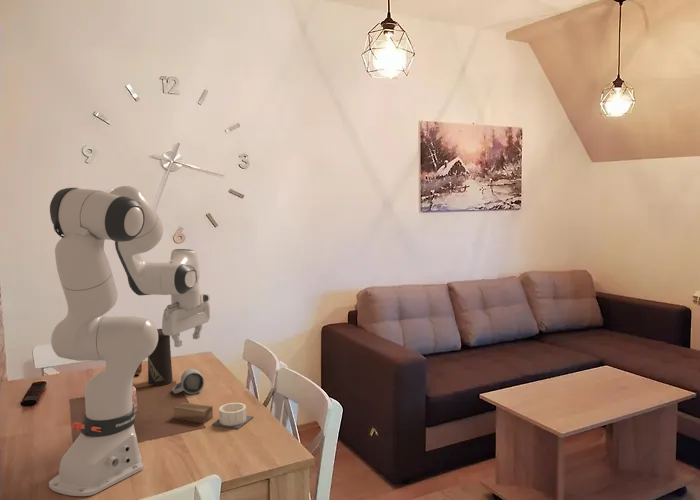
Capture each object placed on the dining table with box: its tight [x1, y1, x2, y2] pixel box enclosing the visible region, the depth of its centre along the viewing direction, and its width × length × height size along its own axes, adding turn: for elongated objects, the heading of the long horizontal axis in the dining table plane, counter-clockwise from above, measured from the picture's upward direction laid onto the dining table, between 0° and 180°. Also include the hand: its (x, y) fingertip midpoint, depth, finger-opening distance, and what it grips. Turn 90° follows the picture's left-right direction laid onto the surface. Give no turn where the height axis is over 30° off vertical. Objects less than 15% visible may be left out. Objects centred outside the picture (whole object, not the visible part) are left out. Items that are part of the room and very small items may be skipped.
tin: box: [134, 362, 143, 376], centre depth 217 cm, size 15×3×8 cm, turn 39°
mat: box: [211, 415, 254, 430], centre depth 170 cm, size 9×9×1 cm
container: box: [147, 328, 173, 387], centre depth 205 cm, size 9×9×20 cm
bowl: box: [218, 402, 247, 426], centre depth 170 cm, size 8×8×4 cm
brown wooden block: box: [173, 401, 214, 424], centre depth 172 cm, size 4×11×4 cm, turn 70°
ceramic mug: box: [171, 368, 205, 395], centre depth 196 cm, size 11×8×8 cm
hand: (187, 342), depth 175 cm, fingers open, 8 cm apart
